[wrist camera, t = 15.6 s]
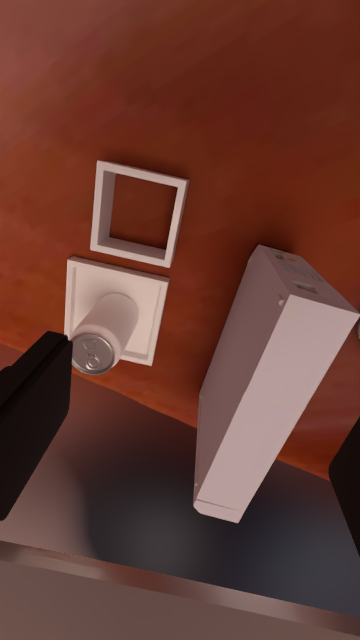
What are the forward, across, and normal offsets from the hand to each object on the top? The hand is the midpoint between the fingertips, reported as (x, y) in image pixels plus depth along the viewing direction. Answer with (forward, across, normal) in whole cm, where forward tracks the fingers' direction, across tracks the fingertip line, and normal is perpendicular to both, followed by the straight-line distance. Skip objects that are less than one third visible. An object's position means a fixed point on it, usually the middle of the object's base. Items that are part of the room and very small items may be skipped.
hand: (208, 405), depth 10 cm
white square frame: (+34, +9, 0) cm, 35 cm away
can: (+34, +10, +15) cm, 38 cm away
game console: (+35, -8, +14) cm, 38 cm away
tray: (+34, +11, +15) cm, 39 cm away
